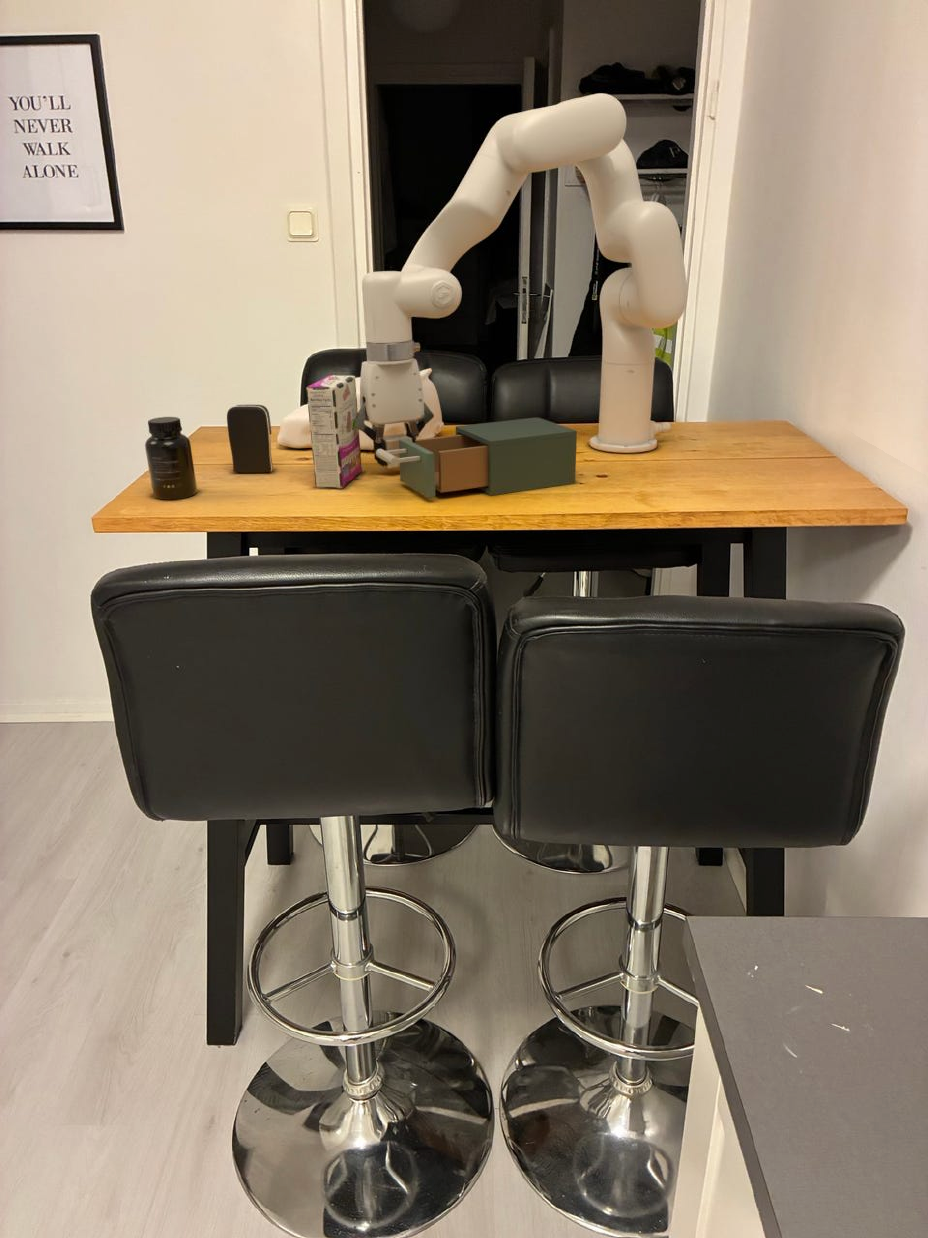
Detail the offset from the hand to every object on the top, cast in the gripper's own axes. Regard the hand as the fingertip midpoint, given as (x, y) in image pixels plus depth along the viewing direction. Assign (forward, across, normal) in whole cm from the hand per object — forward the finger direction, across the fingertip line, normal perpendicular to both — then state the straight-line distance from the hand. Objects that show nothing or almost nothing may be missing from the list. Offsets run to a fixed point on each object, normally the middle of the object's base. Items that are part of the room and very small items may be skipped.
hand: (396, 461), depth 154 cm
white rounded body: (+2, -3, -26) cm, 26 cm away
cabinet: (+2, -16, +14) cm, 21 cm away
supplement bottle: (+2, +36, -4) cm, 37 cm away
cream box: (0, 0, 0) cm, 0 cm away
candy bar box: (+2, +10, 0) cm, 11 cm away
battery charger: (+2, +22, -13) cm, 25 cm away
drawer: (+1, -2, +14) cm, 14 cm away
